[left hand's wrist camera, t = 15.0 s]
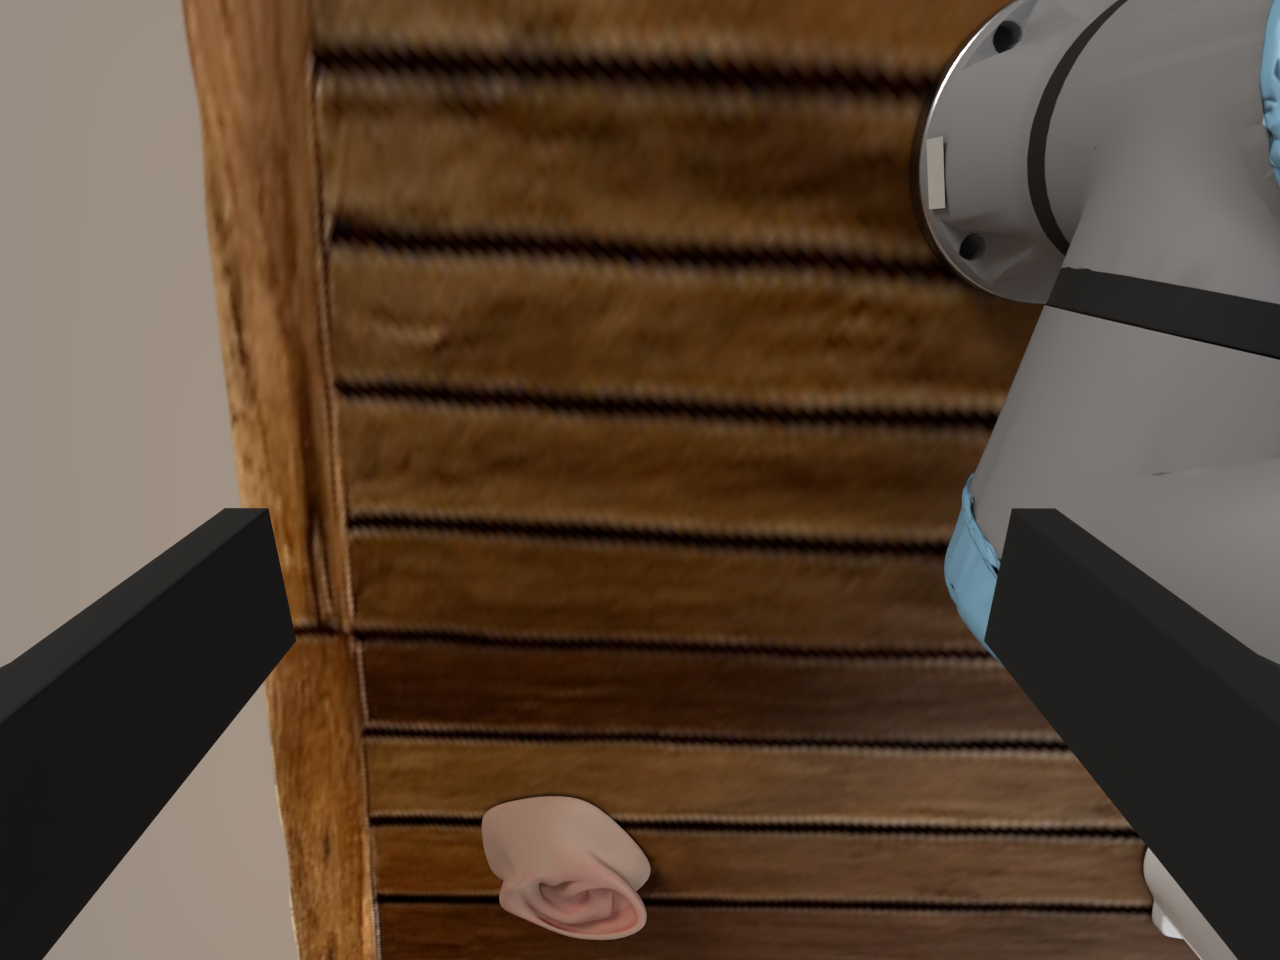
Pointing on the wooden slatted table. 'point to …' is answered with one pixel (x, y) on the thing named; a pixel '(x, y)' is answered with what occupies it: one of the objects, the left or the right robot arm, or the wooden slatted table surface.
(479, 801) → the wooden slatted table surface
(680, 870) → the wooden slatted table surface
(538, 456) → the wooden slatted table surface
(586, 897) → the anatomical model
